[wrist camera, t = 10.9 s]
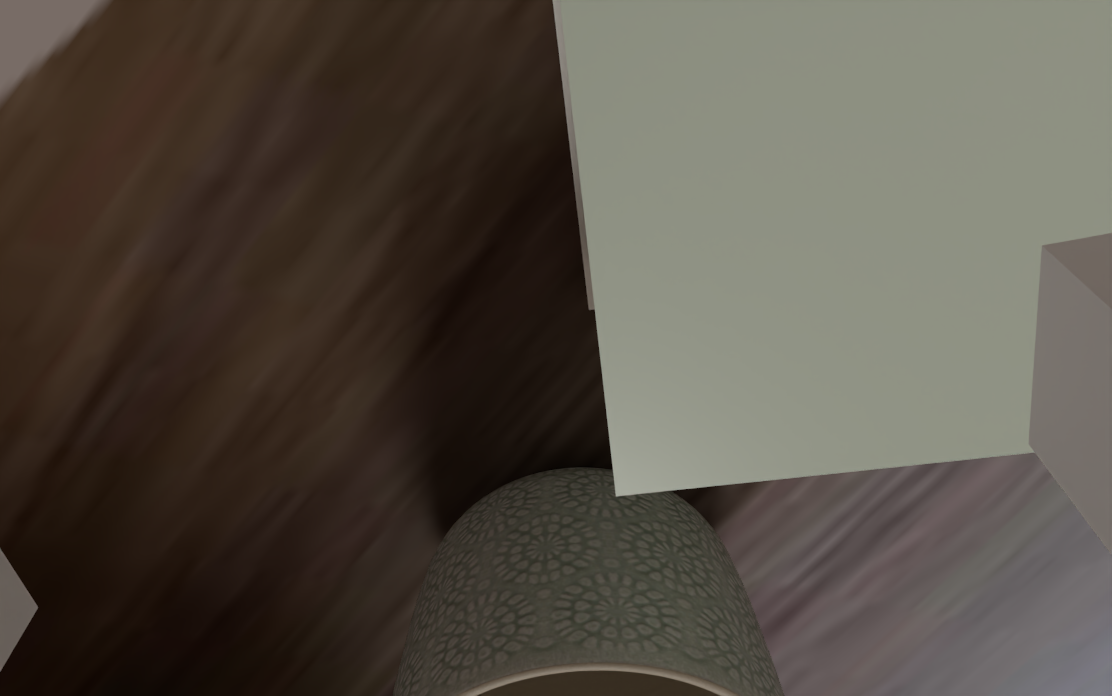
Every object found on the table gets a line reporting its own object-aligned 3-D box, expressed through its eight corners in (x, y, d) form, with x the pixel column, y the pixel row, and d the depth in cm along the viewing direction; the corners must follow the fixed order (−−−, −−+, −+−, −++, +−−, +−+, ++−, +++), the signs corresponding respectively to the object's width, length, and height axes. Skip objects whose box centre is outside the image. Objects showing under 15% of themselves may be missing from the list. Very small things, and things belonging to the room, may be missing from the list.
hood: (590, 264, 29) (615, 496, 20) (535, -216, 23) (536, -206, 13) (1125, 202, 28) (1410, 413, 19) (1226, -312, 22) (1729, -371, 13)
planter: (695, 675, 41) (742, 944, 31) (400, 644, 40) (359, 915, 30) (779, 440, 35) (869, 689, 25) (433, 394, 33) (393, 638, 24)
